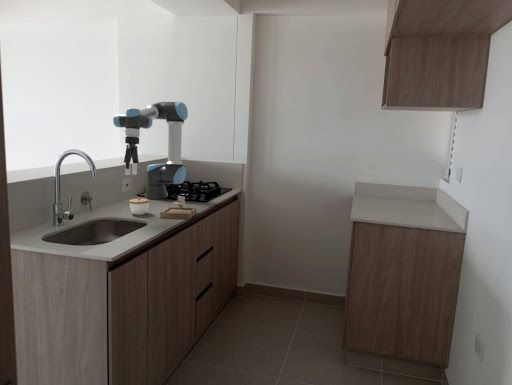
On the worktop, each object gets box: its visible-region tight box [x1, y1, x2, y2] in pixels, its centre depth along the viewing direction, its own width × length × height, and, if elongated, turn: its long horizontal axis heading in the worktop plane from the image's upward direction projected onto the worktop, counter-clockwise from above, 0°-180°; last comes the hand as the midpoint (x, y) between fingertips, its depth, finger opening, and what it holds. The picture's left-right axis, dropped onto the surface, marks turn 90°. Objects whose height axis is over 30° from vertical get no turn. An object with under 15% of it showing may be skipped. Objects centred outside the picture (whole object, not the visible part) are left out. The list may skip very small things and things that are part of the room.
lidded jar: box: [128, 196, 150, 216], centre depth 240 cm, size 11×11×9 cm
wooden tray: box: [159, 206, 197, 220], centre depth 238 cm, size 16×16×3 cm
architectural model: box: [172, 195, 186, 208], centre depth 258 cm, size 3×7×7 cm, turn 54°
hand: (131, 174), depth 237 cm, fingers open, 13 cm apart
